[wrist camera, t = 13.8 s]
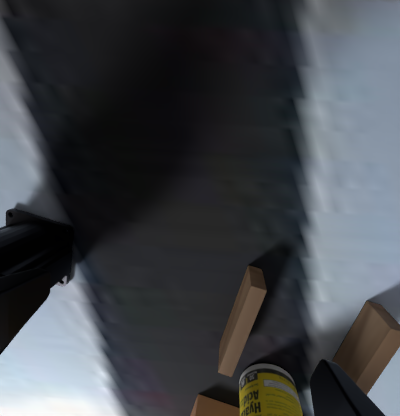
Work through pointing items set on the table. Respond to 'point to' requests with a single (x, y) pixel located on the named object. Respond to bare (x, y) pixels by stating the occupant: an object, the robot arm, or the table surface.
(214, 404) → the trap pit
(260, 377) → the supplement bottle
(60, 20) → the table surface
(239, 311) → the walled lane
